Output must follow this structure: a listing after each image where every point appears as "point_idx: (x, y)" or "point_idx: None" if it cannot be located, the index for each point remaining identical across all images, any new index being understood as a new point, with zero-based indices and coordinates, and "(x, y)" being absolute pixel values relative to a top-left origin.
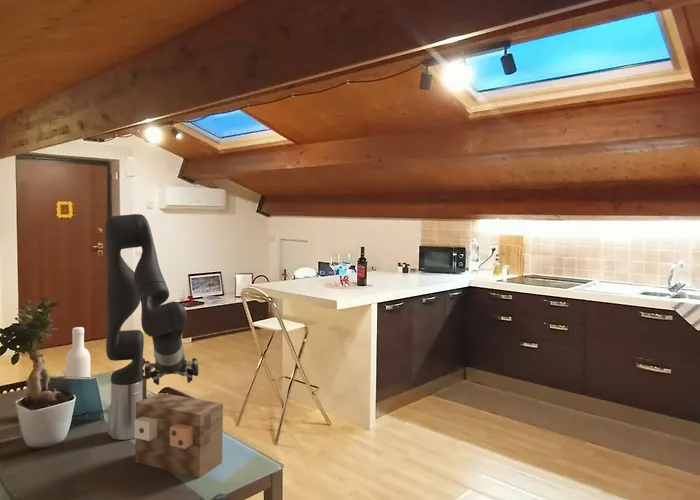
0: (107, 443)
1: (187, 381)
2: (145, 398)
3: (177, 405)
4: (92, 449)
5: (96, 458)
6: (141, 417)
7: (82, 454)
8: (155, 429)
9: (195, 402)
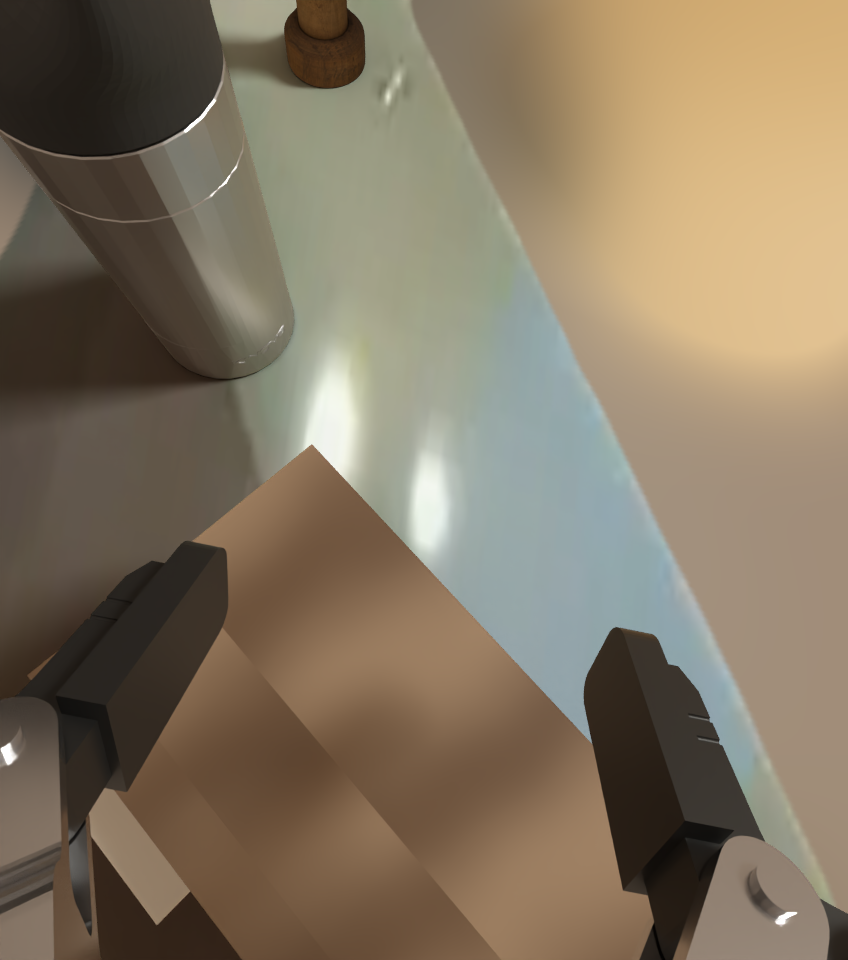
0: (137, 385)
1: (593, 740)
2: (342, 28)
3: (407, 936)
4: (65, 426)
5: (63, 533)
6: None
7: (14, 465)
8: None
9: (592, 890)
